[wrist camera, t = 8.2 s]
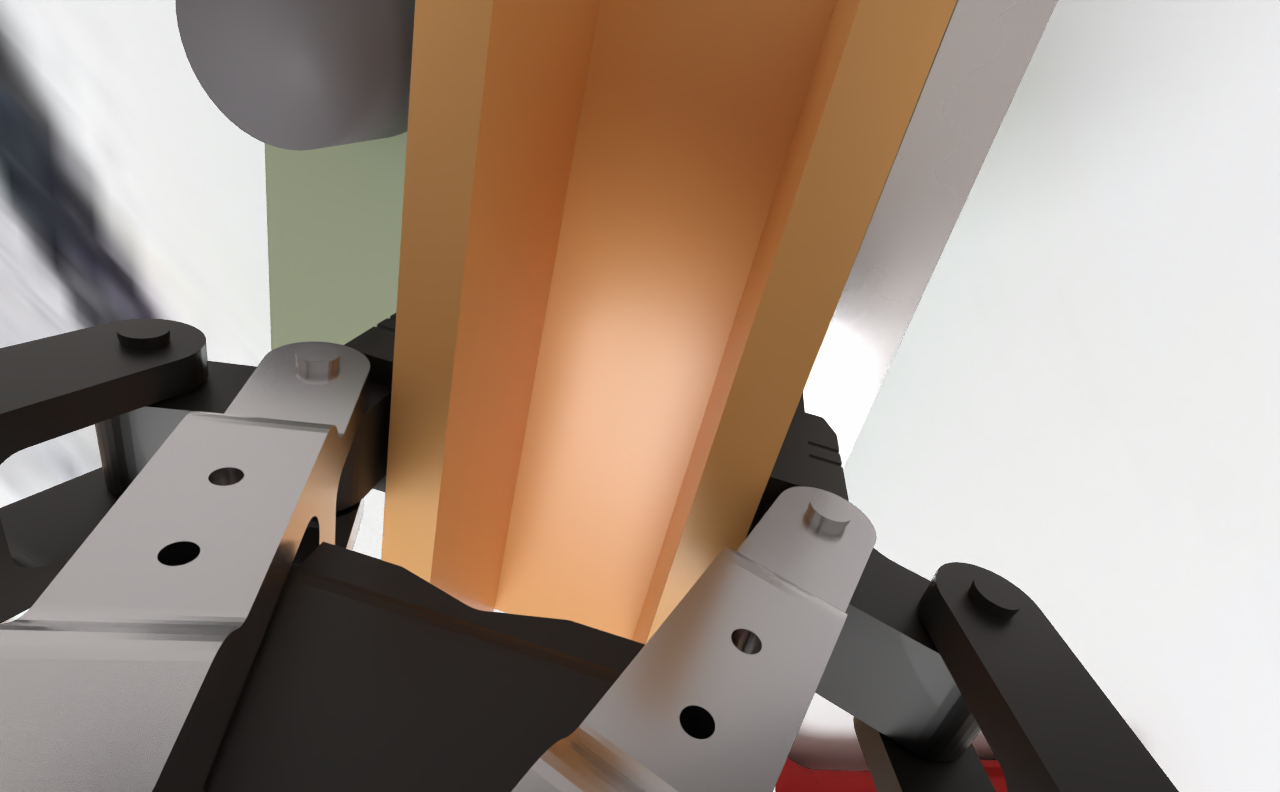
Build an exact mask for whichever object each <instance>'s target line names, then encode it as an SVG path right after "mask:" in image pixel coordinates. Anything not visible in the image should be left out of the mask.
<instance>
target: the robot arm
mask: <svg viewBox="0 0 1280 792" xmlns="http://www.w3.org/2000/svg"><path fill="white" fill-rule="evenodd" d="M395 327H396V313H394V314H393V315H391V316H390V319H388V318H386V319H385V320H383V321H382V322H380V323H378V324H377V327H372V328H370V329H369V330H367V331H365V332H364V333H362V334H361V335H359V336H357V337H356V338H354V339H353V340H351V341H349V342H348V343H346V344H345V345H340V344H336V343H330V342H315V341H310V342H298V343H292V344H287V345H284V346H281V347H278V348H276V349H274V350H272V351H270V352H269V353H268V354H267V355H266V356H265V357H264V358H263V360H262V361H261V363H260V364H259V365H258V367H254V366H246V365H237V364H229V363H221V362H212V361H207V349H206V337H205V336H204V334H203V333H202V332H201V331H200V330H198V329H197V328H195V327H193V326H190V325H188V324H184V323H181V322H176V321H171V320H163V319H130V320H122V321H116V322H111V323H107V324H102V325H98V326H94V327H90V328H85V329H81V330H77V331H73V332H68V333H64V334H60V335H56V336H51V337H47V338H43V339H39V340H34V341H30V342H26V343H22V344H17V345H13V346H9V347H4V348H0V465H1V463H3V462H4V461H5V460H6V459H7V458H8V457H10V456H11V455H12V454H14V453H16V452H18V451H20V450H22V449H25V448H27V447H30V446H33V445H36V444H39V443H42V442H45V441H48V440H50V439H53V438H56V437H59V436H62V435H65V434H68V433H70V432H73V431H76V430H79V429H82V428H85V427H88V426H91V425H93V424H95V428H96V433H97V439H98V445H99V450H100V456H101V461H102V467H101V468H99V469H96V470H94V471H91V472H89V473H86V474H84V475H81V476H79V477H76V478H74V479H72V480H69V481H67V482H64V483H62V484H59V485H57V486H54V487H52V488H49V489H47V490H44V491H42V492H39V493H37V494H34V495H32V496H29V497H27V498H24V499H22V500H19V501H17V502H14V503H12V504H10V505H7V506H5V507H2V508H0V623H2V622H4V621H6V620H8V619H10V618H12V617H14V616H16V615H18V614H19V613H21V612H23V611H25V610H27V609H29V608H30V609H29V610H28V611H27V612H26V613H25V614H24V615H23V616H21V617H20V618H18V619H17V620H15V621H12V622H9V623H4V624H0V792H773V790H774V787H775V785H776V783H777V780H778V778H779V776H780V773H781V771H782V769H783V766H784V764H785V762H786V759H787V757H788V754H789V752H790V750H791V747H792V745H793V743H794V740H795V738H796V736H797V733H798V731H799V729H800V726H801V724H802V722H803V719H804V717H805V715H806V712H807V710H808V707H809V705H810V703H811V700H812V698H813V696H814V693H815V692H816V693H817V694H819V695H820V696H822V697H824V698H825V699H827V700H829V701H830V702H832V703H833V704H835V705H837V706H838V707H840V708H842V709H843V710H845V711H846V712H848V713H850V714H851V715H853V716H854V719H853V720H854V728H855V732H856V735H857V738H858V741H859V743H860V746H861V749H862V752H863V754H864V757H865V760H866V763H867V765H868V768H869V771H870V774H871V776H872V779H873V782H874V785H875V787H876V790H877V792H996V790H995V788H994V786H993V784H992V782H991V780H990V779H989V777H988V775H987V773H986V771H985V769H984V767H983V765H982V763H981V761H980V759H979V757H978V755H977V754H976V752H975V750H974V748H973V746H972V744H971V743H972V741H973V740H974V739H975V737H976V736H977V735H978V733H979V732H980V731H982V733H983V735H984V736H985V738H986V740H987V742H988V744H989V746H990V747H991V749H992V751H993V753H994V755H995V757H996V758H997V760H998V762H999V764H1000V766H1001V768H1002V771H1003V774H1004V777H1005V781H1006V786H1007V792H1179V791H1178V790H1177V789H1176V787H1175V786H1174V785H1173V783H1172V782H1171V781H1170V780H1169V778H1168V777H1167V776H1166V774H1165V773H1164V772H1163V770H1162V769H1161V768H1160V766H1159V765H1158V764H1157V762H1156V761H1155V760H1154V758H1153V757H1152V756H1151V755H1150V753H1149V752H1148V751H1147V749H1146V748H1145V747H1144V745H1143V744H1142V743H1141V741H1140V740H1139V739H1138V737H1137V736H1136V735H1135V733H1134V732H1133V731H1132V730H1131V728H1130V727H1129V726H1128V724H1127V723H1126V722H1125V720H1124V719H1123V718H1122V716H1121V715H1120V714H1119V712H1118V711H1117V710H1116V708H1115V707H1114V706H1113V705H1112V703H1111V702H1110V701H1109V699H1108V698H1107V697H1106V695H1105V694H1104V693H1103V691H1102V690H1101V689H1100V687H1099V686H1098V685H1097V683H1096V682H1095V681H1094V680H1093V678H1092V677H1091V676H1090V674H1089V673H1088V672H1087V670H1086V669H1085V668H1084V666H1083V665H1082V664H1081V662H1080V661H1079V660H1078V658H1077V657H1076V656H1075V655H1074V653H1073V652H1072V651H1071V649H1070V648H1069V647H1068V645H1067V644H1066V643H1065V641H1064V640H1063V639H1062V637H1061V636H1060V635H1059V633H1058V632H1057V631H1056V630H1055V628H1054V627H1053V626H1052V624H1051V623H1050V622H1049V620H1048V619H1047V618H1046V616H1045V615H1044V614H1043V612H1042V611H1041V610H1040V609H1039V607H1038V606H1037V605H1036V604H1035V603H1034V602H1033V601H1032V600H1031V599H1030V598H1029V597H1028V596H1027V595H1026V594H1025V593H1024V592H1023V591H1021V590H1020V589H1019V588H1018V587H1016V586H1015V585H1014V584H1012V583H1011V582H1009V581H1008V580H1006V579H1004V578H1003V577H1001V576H999V575H997V574H995V573H993V572H991V571H989V570H986V569H984V568H981V567H978V566H975V565H972V564H967V563H959V562H954V563H948V564H944V565H943V566H941V567H940V568H939V569H938V570H937V572H936V574H935V575H934V577H933V579H932V580H931V581H929V580H927V579H925V578H923V577H921V576H920V575H918V574H916V573H914V572H912V571H910V570H908V569H906V568H904V567H902V566H900V565H898V564H897V563H895V562H893V561H891V560H889V559H888V558H886V557H885V556H883V555H882V554H881V553H879V552H878V551H877V550H875V549H874V548H873V547H874V545H875V542H876V531H875V529H874V526H873V525H872V523H871V521H870V520H869V519H868V518H867V516H866V515H865V514H864V513H863V512H862V511H861V510H859V509H858V508H857V507H856V506H854V505H853V504H852V503H850V502H849V501H848V495H847V489H846V484H845V478H844V472H843V467H841V465H842V461H841V456H840V454H839V451H840V450H839V444H838V439H837V434H836V433H835V432H834V430H833V429H832V428H831V427H830V425H829V424H828V423H827V422H826V420H825V419H824V418H823V417H820V416H817V415H813V414H810V413H806V412H805V406H804V396H803V393H802V396H801V398H800V401H799V403H798V406H797V409H796V411H795V414H794V416H793V419H792V421H791V424H790V426H789V429H788V431H787V434H786V437H785V439H784V442H783V444H782V447H781V449H780V452H779V454H778V457H777V459H776V462H775V465H774V467H773V470H772V472H771V475H770V477H769V480H768V482H767V485H766V487H765V490H764V493H763V495H762V498H761V500H760V503H759V505H758V508H757V510H756V513H755V515H754V518H753V521H752V523H751V526H750V528H749V531H748V533H747V536H746V538H745V541H744V542H743V543H742V545H741V546H740V547H739V549H738V550H737V551H735V550H733V549H732V548H730V547H725V548H724V549H723V550H722V551H721V552H720V553H719V554H718V556H717V557H716V558H715V559H714V560H713V562H712V563H711V564H710V565H709V567H708V568H707V569H706V570H705V572H704V573H703V574H702V575H701V577H700V578H699V579H698V580H697V581H696V583H695V584H694V585H693V586H692V588H691V589H690V590H689V591H688V593H687V594H686V595H685V596H684V598H683V599H682V600H681V601H680V602H679V604H678V605H677V606H676V607H675V609H674V610H673V611H672V612H671V614H670V615H669V616H668V617H667V619H666V620H665V621H664V622H663V623H662V625H661V626H660V627H659V628H658V630H657V631H656V632H655V633H654V635H653V636H652V637H651V638H650V640H649V641H648V642H647V643H646V644H642V643H639V642H636V641H633V640H630V639H627V638H623V637H620V636H617V635H614V634H611V633H608V632H605V631H602V630H598V629H595V628H592V627H589V626H586V625H583V624H580V623H577V622H573V621H570V620H564V619H554V618H545V617H536V616H526V615H517V614H508V613H498V612H489V611H482V610H477V609H474V608H472V607H470V606H468V605H466V604H464V603H463V602H461V601H459V600H458V599H456V598H454V597H452V596H451V595H449V594H447V593H446V592H444V591H442V590H441V589H439V588H437V587H436V586H434V585H432V584H430V583H429V582H427V581H425V580H424V579H422V578H420V577H419V576H417V575H415V574H414V573H412V572H410V571H408V570H407V569H405V568H403V567H402V566H398V565H395V564H392V563H389V562H386V561H383V560H380V559H377V558H373V557H370V556H367V555H364V554H361V553H358V552H355V551H352V550H353V547H354V544H355V540H356V537H357V533H358V530H359V527H360V523H361V520H362V517H363V507H364V496H365V495H366V494H367V493H368V492H369V491H370V490H371V489H372V488H373V489H376V490H380V491H383V492H385V491H386V475H387V458H388V442H389V425H390V409H391V392H392V376H393V359H394V343H395Z"/></svg>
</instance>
